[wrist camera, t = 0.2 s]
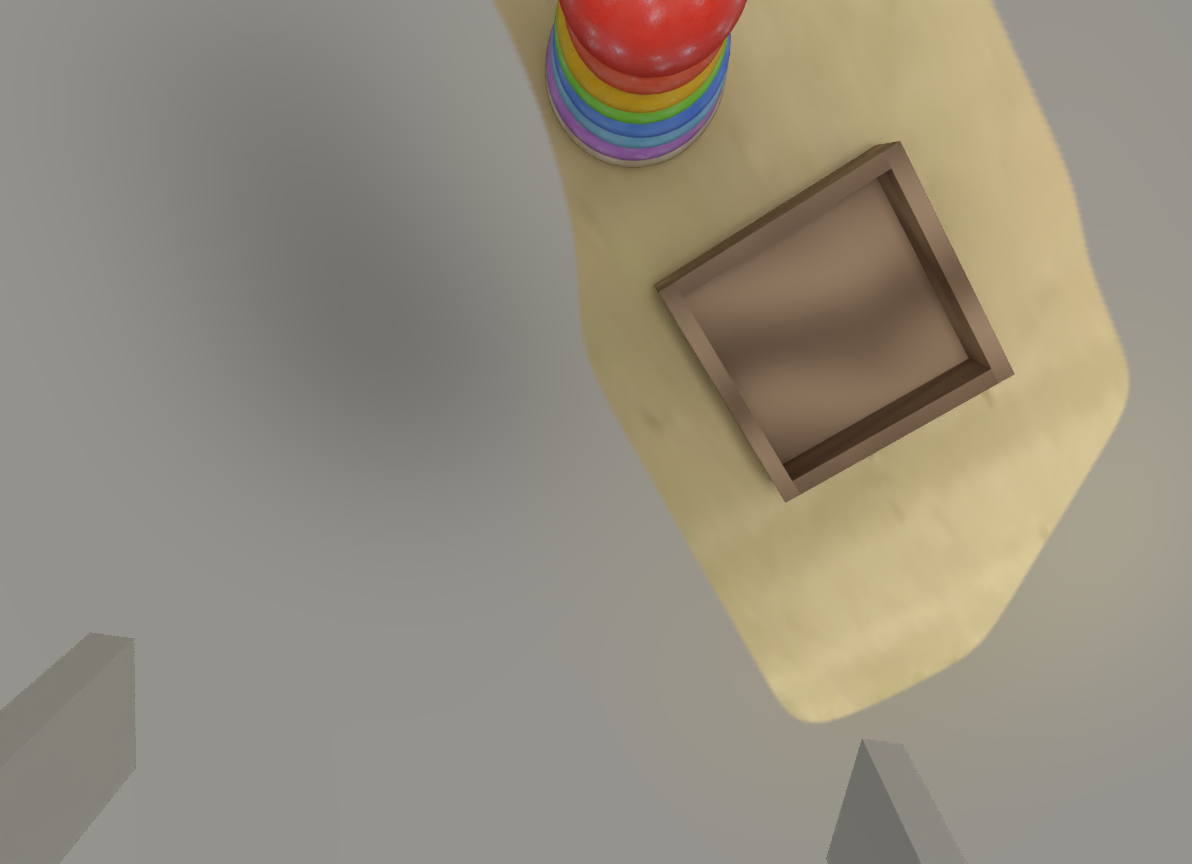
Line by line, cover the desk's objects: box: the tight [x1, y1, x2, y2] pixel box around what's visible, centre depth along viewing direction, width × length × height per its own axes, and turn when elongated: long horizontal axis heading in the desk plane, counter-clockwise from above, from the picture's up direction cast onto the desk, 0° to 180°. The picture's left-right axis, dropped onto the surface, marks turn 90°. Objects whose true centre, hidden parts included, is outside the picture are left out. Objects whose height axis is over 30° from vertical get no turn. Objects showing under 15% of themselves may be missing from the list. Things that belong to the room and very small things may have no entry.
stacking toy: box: [545, 0, 747, 167], centre depth 27 cm, size 8×8×19 cm
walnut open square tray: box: [655, 141, 1014, 503], centre depth 38 cm, size 12×12×3 cm
